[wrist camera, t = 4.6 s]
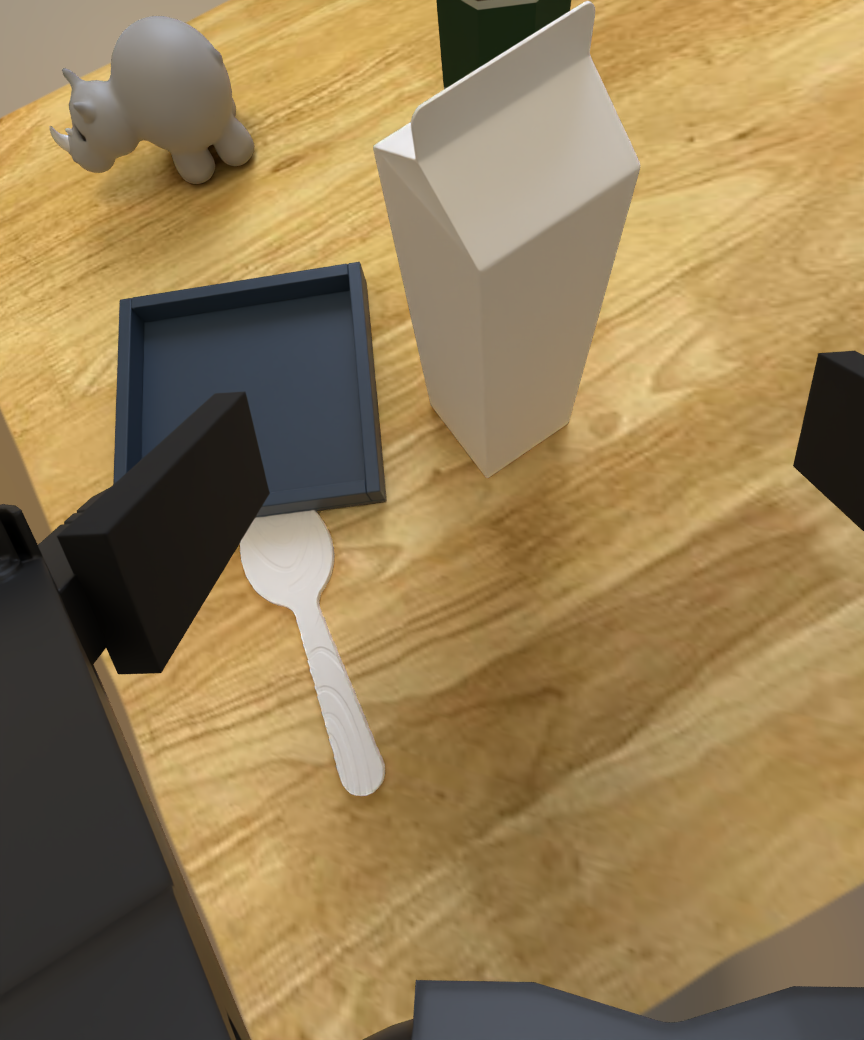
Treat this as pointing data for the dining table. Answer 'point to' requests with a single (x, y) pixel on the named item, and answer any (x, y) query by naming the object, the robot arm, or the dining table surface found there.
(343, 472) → the tray
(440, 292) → the milk
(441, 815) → the dining table surface
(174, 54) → the toy rhinoceros
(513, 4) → the beer bottle
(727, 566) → the dining table surface
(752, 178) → the dining table surface
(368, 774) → the spoon
